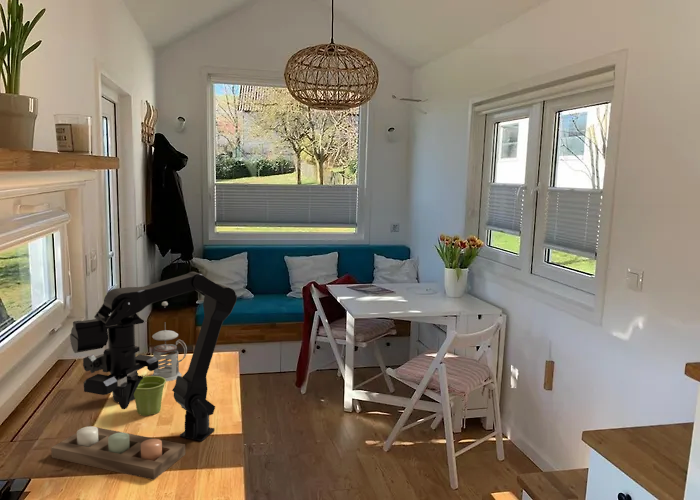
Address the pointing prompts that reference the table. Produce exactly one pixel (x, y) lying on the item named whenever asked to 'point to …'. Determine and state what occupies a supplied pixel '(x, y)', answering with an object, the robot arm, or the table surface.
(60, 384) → the table surface
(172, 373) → the french press
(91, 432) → the button cream
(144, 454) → the button rust
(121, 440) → the button sage
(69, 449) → the wooden compartment tray
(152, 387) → the plant pot
